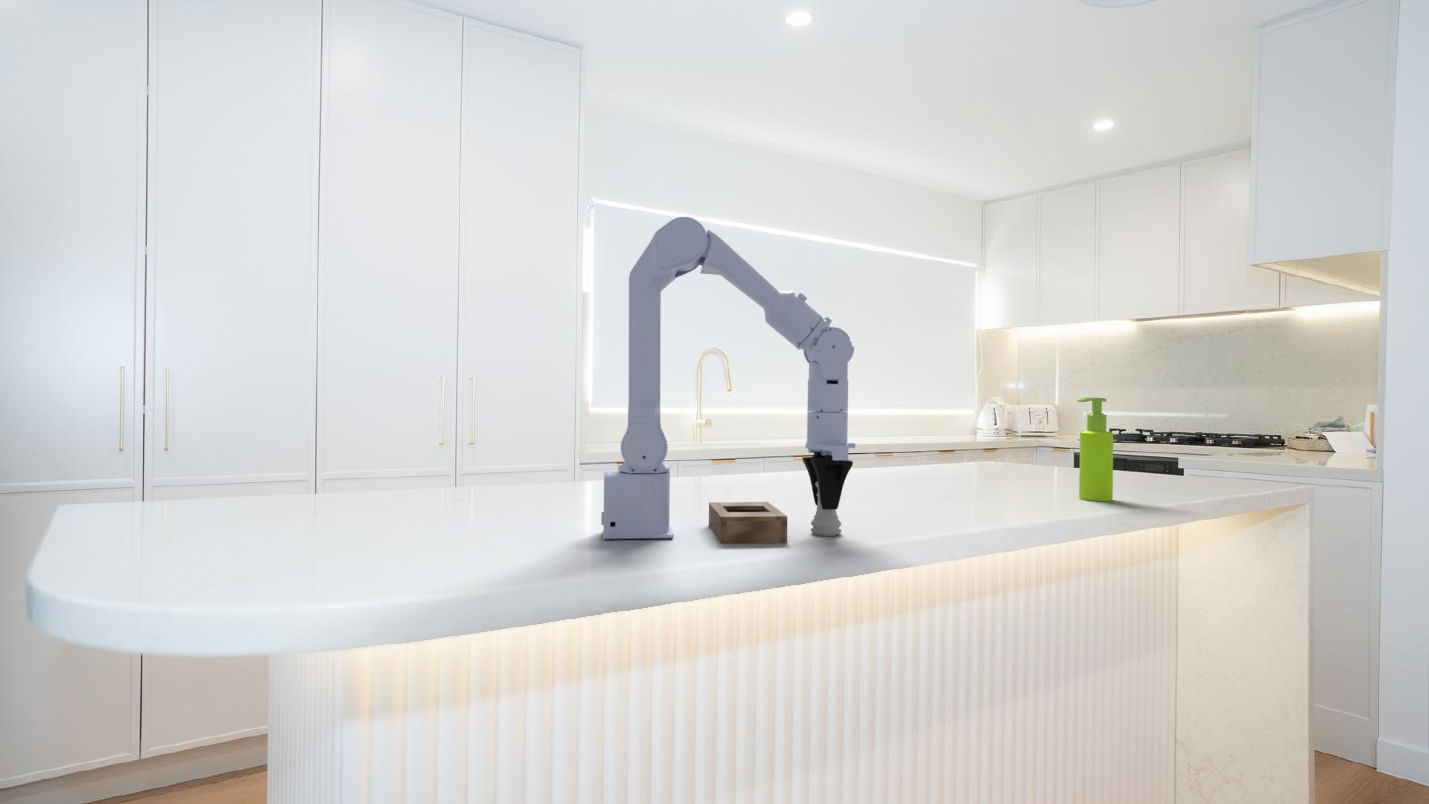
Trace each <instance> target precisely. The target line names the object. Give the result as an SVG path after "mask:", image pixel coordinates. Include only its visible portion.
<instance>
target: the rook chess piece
mask: <svg viewBox="0 0 1429 804" xmlns="http://www.w3.org/2000/svg"><path fill="white" fill-rule="evenodd" d="M815 485H816V487H817V488H818V493H817V496H818V504H817V505H816V511H815V515H814V516H813V517H814V518H812V520H811V521H810V524H811V526H812V528H810V531H811V533H812V534H813V535H815V536H820V537H835V536H836V535H837V536H839V535H840V534H841V533H842V530H841V528H840V527H841V526H842V523H841V521H840V520H839V516H838V514H837V509H822V506H821V502H820V494H819V485H818V481H817V482H816V484H815Z"/></svg>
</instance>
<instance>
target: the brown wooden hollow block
mask: <svg viewBox="0 0 1429 804" xmlns="http://www.w3.org/2000/svg"><path fill="white" fill-rule="evenodd" d="M708 527H709V528H710V530H711V531H712V533H713V534H714V536H715V537H716V538H717V540H718V542H719V543H720V544H747V543H749V544H759V543H760V544H761V543H762V544H763V543H765V544H767V543H770V544H771V543H772V544H773V543H788V516H787V515H786V514H785V513H784V512H782V511H781V510H780V509H778V508H777V507H776V506H775V505H773V504H772V503H770V502H769V501H749V502H748V501H729V502H728V501H726V502H725V501H724V502H723V501H721V502H717V501H716V502H715V501H711V502H708Z"/></svg>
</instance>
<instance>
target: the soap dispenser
mask: <svg viewBox="0 0 1429 804" xmlns="http://www.w3.org/2000/svg"><path fill="white" fill-rule="evenodd" d="M1077 402H1079V403H1087V402H1091V412H1090V413H1089V414H1087V416H1086V417H1087V419H1086V420H1087V421H1086V430H1084V431H1081V432H1080V433H1079V472H1078V473H1079V474H1078V475H1079V477H1078V478H1079V484H1078V485H1079V486H1078V490H1079V491H1078V492H1079V493H1078V499H1080V500H1084V501H1091V502H1092V501H1093V502H1111V501H1113V498H1114V497H1113V493H1114V492H1113V491H1114V489H1113V487H1114V486H1113V485H1114V483H1113V481H1114V433H1113V432H1111V431H1107V414H1104V413H1103V412H1102V411H1103V410H1102V408H1103V402H1104V403H1105V402H1107V398H1104V397H1082V398H1078V399H1077Z"/></svg>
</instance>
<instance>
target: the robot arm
mask: <svg viewBox="0 0 1429 804" xmlns="http://www.w3.org/2000/svg"><path fill="white" fill-rule="evenodd" d="M699 266H701V269H700V271H699V273H700V274H702V275H713V276H714V275H716V276H721V277H722V278H723V279H725V280H726V281H727V282H729V283H730V284H731V285H732V286H734V287H735V288H737V289H738V290H739V291H740V292H741V293H742V294H744V295H746V296H747V297H748V298H749V299H751V300H752V301H753V302H755V303H756V304H757V305H758V306H759V307H761V308H763V311H764V319H765V323H766V324H768V326H770V327H771V328H772V329H774V331H776V332H777V333H778V334H779V335H780V336H782V338H784V339H786V340H787V342H789V343H790V344H791V345H792V346H794V347H795V348H796V349H797V350H798V351H799V350H803V357H804V358H805V361H806V362H807V363H808V380H807V416H806V417H807V419H806V422H807V423H806V431H807V432H806V442H805V448H806V449H808V450H807V452H808V453H809V454H813V455H812V456H803V457H802V462H803V464H804V465H805V468H806V471H807V472H808V477H809V480H810V481H809V482H810V484H811V490H812V496H813V500H814V504H815V506H817V504H818V496H817V493H818V488H817V487H816V485H815V484H816V482H817V481H818V485H819V494H820V502H821V506H822V509H836V510H838V508H839V505H840V501H841V497H842V492H843V487H844V484H845V481H846V478H847V477H848V474H849V472H850V470H851V469H852V467H853V465H854V462H853V460H849V449H856V443H855V442H848V424H849V423H848V420H849V417H848V415H849V413H848V411H849V378H848V372H849V370H848V369H849V368H848V366H849V365H848V364H849V362H850V361H851V359H852V358H853V355H854V353H855V346H853V343H852V341H851V338H850V336H849V335H848V333H847V332H846V331H845V330H843V329H842V328H839V327H835V326H831V323H832V322H833V320H832V319H830V317H829V316H826V317H823V316H822V315H821V314H820V313H819V312H817V311H816V310H815V309H814V308H813V307H811V306H810V305H809V304H808V303H807V302H806V301H807V299H808V297H807V296H805V295H804V294H803V293H802V292H799V293H798V294H796V293H795V292H794V291H793V290H785V291H779V290H778V289H777V288H776V287H775V286H773V285H772V284H771V283H770V282H769V281H768V280H767V279H766V278H765V277H764V276H763V275H761V274H760V272H758V271H757V270H756V269H755V268H754V267H753V266H752V265H751V264H749V263H748V262H747V261H746V260H745V259H744V258H743V257H742V256H741V255H740V254H738V252H736V250H734V249H733V248H732V247H731V246H730V245H729V244H728V243H727V242H725V241H724V240H723V239H722V238H721V237H720V236H719V235H718V234H716V233H715V232H713V231H712V230H711V229H707V230H706V229H705V227H704V226H703V224H701V222H699V221H698V220H697V219H695V218H694V217H693V218H692V217H689V216H679V217H676V218H673V219H671V220H669V221H668V222H667V223H665V224H664V225H663V226H662V227H660V228H659V229H657V230H656V231H655V232H654V234H653V236H652V238H651V240H650V242H649V243H648V245H647V246H646V247H645V249H644V251H643V252H642V253H641V255H640V257H639V258H638V260H637V261H636V263H635V264H634V265H633V267H632V268H631V271H630V272H629V277H628V412H627V428H626V431H625V434H624V435H623V436H622V439H621V442H620V452H621V456H622V459H623V460H624V463H622V464H620V465H618V466H617V467H618V468H617V469H618V471H606V472H604V475H603V479H604V480H603V511H602V512H601V516H600V517H601V519H600V521H601V526H603V532H602V533H603V537H602V538H603V539H604V540H608V539H609V540H613V539H614V540H617V539H618V540H620V539H621V540H622V539H623V540H624V539H625V540H626V539H627V540H628V539H673V538H674V536H675V534H674V532H673V529H672V527H671V525H670V500H671V499H670V492H671V491H670V484H671V482H670V478H671V477H670V476H671V472H670V471H671V470H670V469H671V468H670V467H669V466H667V465H665V464H664V460H665V459H666V456H667V454H668V446H669V445H668V441H667V439H666V436H665V433H664V431H663V429H662V425H661V323H662V322H661V320H662V319H661V315H662V314H661V312H662V311H661V308H662V307H661V304H662V303H661V298H662V297H661V294H662V293H661V292H662V291H663V290H665V289H666V288H667V287H668V286H669V285H670V284H671V283H672V282H674V281H675V279H677V278H679V277H682V276H685V275H687V274H689V273H691V272H693V271H695V270H696V269H697V268H698V267H699Z"/></svg>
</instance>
